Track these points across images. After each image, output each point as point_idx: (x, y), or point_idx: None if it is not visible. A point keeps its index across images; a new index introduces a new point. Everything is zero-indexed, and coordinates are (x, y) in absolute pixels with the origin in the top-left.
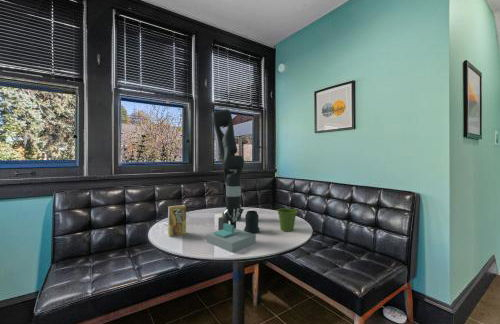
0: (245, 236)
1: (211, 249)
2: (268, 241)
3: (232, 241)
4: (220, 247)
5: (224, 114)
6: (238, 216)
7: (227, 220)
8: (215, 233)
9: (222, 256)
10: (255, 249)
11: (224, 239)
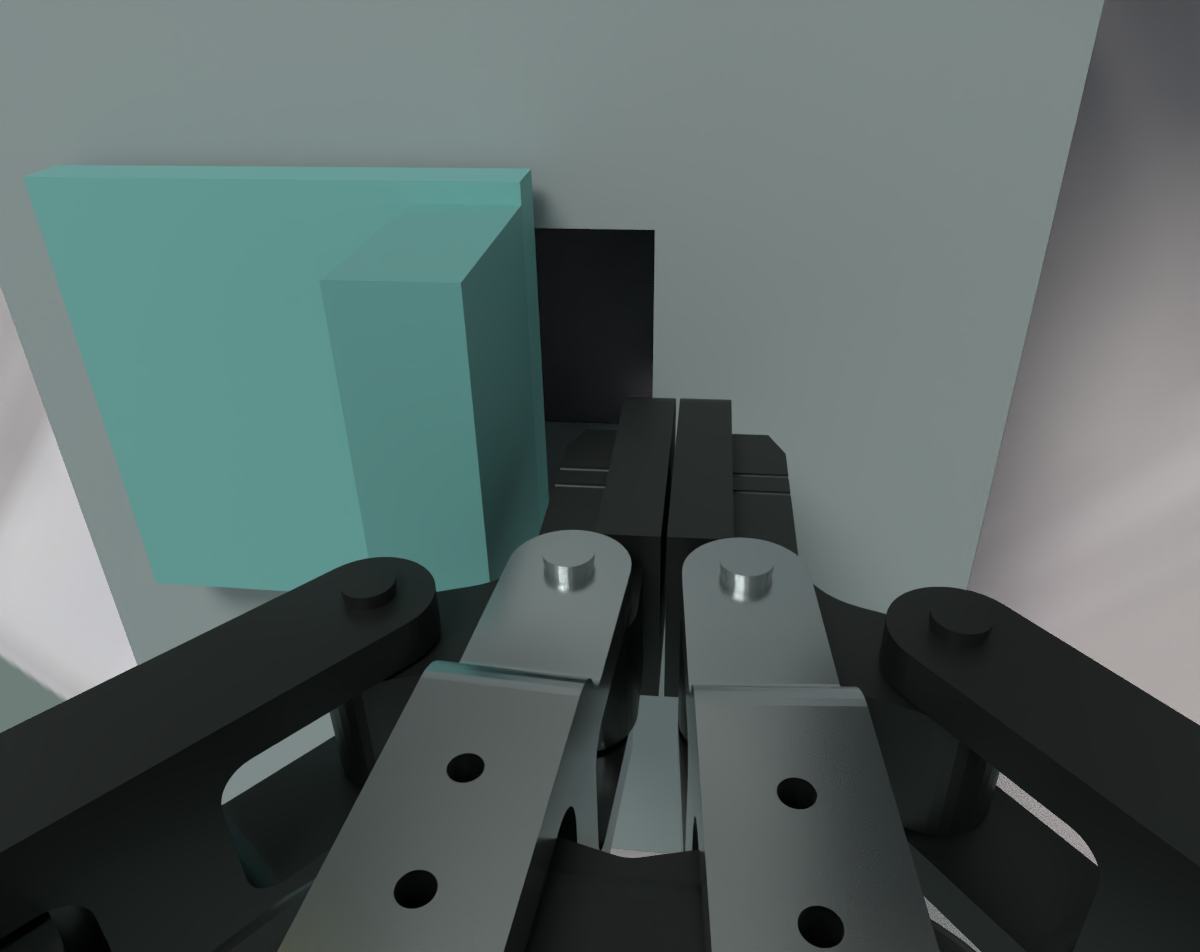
0: (641, 798)
1: (12, 370)
2: (1075, 846)
3: (245, 774)
4: None
5: None
6: (937, 896)
7: (337, 593)
8: (56, 233)
9: (78, 676)
10: (621, 850)
11: (160, 610)
